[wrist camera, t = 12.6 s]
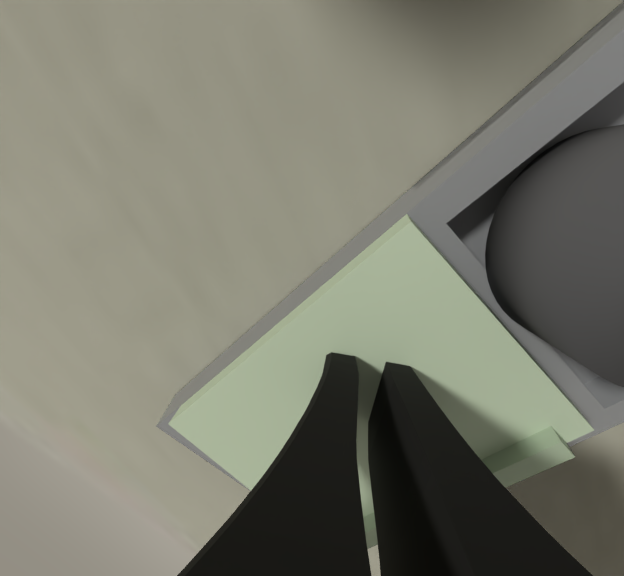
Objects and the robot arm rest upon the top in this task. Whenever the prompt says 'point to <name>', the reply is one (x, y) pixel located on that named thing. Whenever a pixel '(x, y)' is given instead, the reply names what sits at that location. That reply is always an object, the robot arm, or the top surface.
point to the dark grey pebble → (566, 249)
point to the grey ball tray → (487, 210)
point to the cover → (371, 360)
